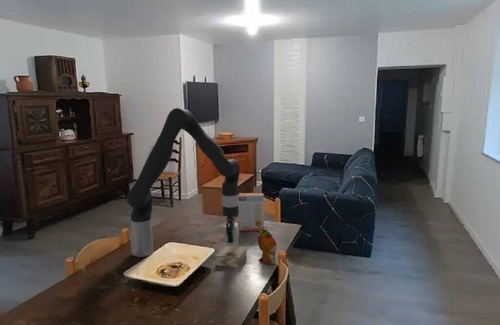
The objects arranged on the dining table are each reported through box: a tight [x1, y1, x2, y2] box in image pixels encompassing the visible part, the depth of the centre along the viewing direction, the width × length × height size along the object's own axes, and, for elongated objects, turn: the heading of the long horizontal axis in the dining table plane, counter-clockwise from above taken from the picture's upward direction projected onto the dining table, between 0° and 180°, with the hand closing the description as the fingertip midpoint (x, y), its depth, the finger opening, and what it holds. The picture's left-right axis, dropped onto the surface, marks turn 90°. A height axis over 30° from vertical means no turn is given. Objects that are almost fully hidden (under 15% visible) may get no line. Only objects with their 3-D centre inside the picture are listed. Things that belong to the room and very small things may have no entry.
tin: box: [224, 222, 239, 247], centre depth 165 cm, size 5×5×9 cm
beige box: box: [215, 244, 248, 269], centre depth 167 cm, size 11×11×5 cm
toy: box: [257, 228, 278, 265], centre depth 166 cm, size 11×9×15 cm
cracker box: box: [238, 192, 265, 232], centre depth 205 cm, size 14×6×21 cm, turn 84°
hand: (231, 239), depth 166 cm, fingers closed on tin, 5 cm apart
